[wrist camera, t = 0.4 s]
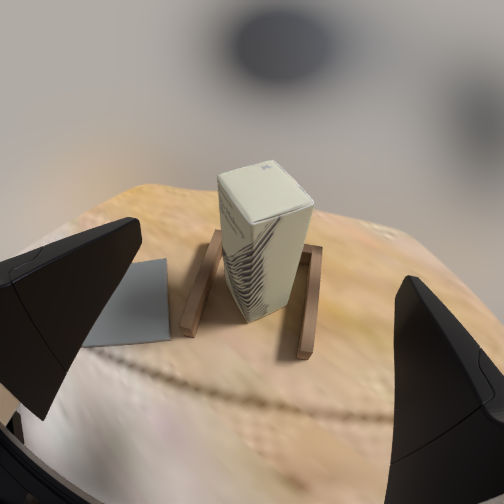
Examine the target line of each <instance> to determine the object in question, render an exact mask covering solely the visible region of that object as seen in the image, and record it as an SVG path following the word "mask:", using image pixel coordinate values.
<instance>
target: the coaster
mask: <svg viewBox="0 0 504 504" xmlns="http://www.w3.org/2000/svg"><path fill="white" fill-rule="evenodd" d="M170 340H171V337H170V323H169V304H168V277H167V259H166V258H164V259H158V260H151V261H145V262H138V263H132V264H130V266H129V268H128V270H127V272H126V274H125V276H124V277H123V279H122V281H121V282H120V284H119V285H118V287H117V288H116V290H115V292H114V293H113V295H112V296H111V298H110V299H109V301H108V303H107V304H106V306H105V307H104V309H103V311H102V312H101V314H100V315H99V317H98V319H97V320H96V322H95V324H94V325H93V327H92V329H91V330H90V332H89V334H88V336H87V337H86V339H85V341H84V343H83V344H82V346H83V347H103V346H117V345H130V344H141V343H151V342H161V341H170Z"/></svg>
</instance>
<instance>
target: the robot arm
mask: <svg viewBox="0 0 504 504" xmlns="http://www.w3.org/2000/svg"><path fill="white" fill-rule="evenodd" d="M141 244H142V235H141V228H140V222H139V220H138V219H137V218H132V217H126V218H123V219H120V220H117V221H114V222H110V223H107V224H104V225H101V226H98V227H95V228H92V229H89V230H86V231H83V232H81V233H78V234H75V235H72V236H69V237H66V238H64V239H61V240H58V241H55V242H53V243H50V244H47V245H45V246H44V247H43V246H42V247H40V248H37V249H34V250H32V251H29V252H26V253H24V254H21V255H18V256H16V257H13V258H10V259H7V260H5V261H2V262H0V504H104V503H102V502H100V501H98V500H97V499H95V498H93V497H92V496H90V495H89V494H87V493H86V492H84V491H82V490H81V489H79V488H78V487H76V486H75V485H73V484H72V483H71V482H69V481H68V480H66V479H65V478H64V477H62V476H61V475H59V474H58V473H57V472H56V471H54V470H53V469H52V468H50V467H49V466H48V465H47V464H45V463H44V462H43V461H42V460H40V459H39V458H38V457H37V456H36V455H35V454H33V453H32V452H31V451H30V450H29V449H28V448H27V447H26V446H25V445H24V437H23V431H22V424H21V416H20V414H19V413H18V412H17V411H16V409H17V408H18V406H19V405H20V403H22V404H23V405H24V406H25V407H26V408H27V409H29V410H30V411H31V412H32V413H33V414H34V415H36V416H37V417H38V418H39V419H41V420H42V421H44V419H45V418H46V416H47V413H48V411H49V409H50V407H51V405H52V403H53V400H54V398H55V396H56V394H57V392H58V390H59V388H60V386H61V384H62V382H63V380H64V378H65V376H66V374H67V373H66V372H68V370H69V368H70V366H71V364H72V363H73V361H74V359H75V357H76V355H77V353H78V352H79V350H80V348H81V346H82V344H83V343H84V341H85V339H86V337H87V336H88V334H89V332H90V330H91V329H92V327H93V325H94V324H95V322H96V320H97V319H98V317H99V315H100V314H101V312H102V311H103V309H104V307H105V306H106V304H107V303H108V301H109V299H110V298H111V296H112V295H113V293H114V292H115V290H116V288H117V287H118V285H119V284H120V282H121V281H122V279H123V277H124V276H125V274H126V272H127V270H128V268H129V266H130V264H131V263H132V261H133V259H134V257H135V255H136V253H137V252H138V250H139V248H140V246H141ZM394 368H395V402H394V427H393V441H392V452H391V462H390V464H391V465H390V469H389V476H388V483H387V490H386V496H385V501H384V504H504V375H503V374H502V373H501V372H500V371H499V369H498V368H497V367H496V366H495V365H494V363H493V362H492V361H491V360H490V358H489V357H488V356H487V355H486V353H485V352H484V351H483V349H482V348H480V346H479V345H478V343H477V342H476V341H475V340H474V338H473V337H472V336H471V335H470V334H469V332H468V331H467V330H466V329H465V328H464V327H463V325H462V324H461V323H460V322H459V321H458V320H457V318H456V317H455V316H454V315H453V314H452V313H451V312H450V311H449V310H448V308H447V307H446V306H445V305H444V304H443V303H442V302H441V301H440V300H439V299H438V298H437V296H436V295H435V294H434V293H433V292H432V291H431V290H430V289H429V288H428V287H427V286H426V285H425V284H424V283H423V282H422V281H421V280H420V279H419V278H418V277H414V276H410V275H408V276H406V277H405V278H404V280H403V282H402V284H401V286H400V288H399V290H398V292H397V294H396V297H395V317H394Z"/></svg>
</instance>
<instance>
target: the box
mask: <svg viewBox="0 0 504 504" xmlns="http://www.w3.org/2000/svg"><path fill="white" fill-rule="evenodd" d="M217 182H218V195H219V209H220V222H221V235H222V246H223V258H224V270H225V281H226V284H227V286H228V288H229V290H230V292H231V294H232V296H233V298H234V300H235V302H236V304H237V306H238V308H239V309H240V311H241V313H242V315H243V316H244V318H245V320H246V321H247V322H248V323H250V322H252V321H255V320H257V319H259V318H262V317H264V316H266V315H269V314H271V313H273V312H275V311H277V310H279V309H281V308H283V307H284V306H286V305H287V303H288V300H289V296H290V293H291V289H292V286H293V282H294V279H295V275H296V272H297V268H298V264H299V261H300V257H301V253H302V250H303V246H304V242H305V238H306V235H307V231H308V227H309V223H310V219H311V216H312V212H313V208H314V201H313V199H312V198H311V197H310V196H309V195H308V194H307V193H306V192H305V191H304V190H303V188H302V187H301V186H300V185H299V184H298V183H297V182H296V181H295V180H294V179H293V178H292V177H291V176H290V175H289V174H288V173H287V172H286V171H285V170H284V169H283V168H282V167H281V166H279V164H277V163H276V162H275V161H274V160H268V161H264V162H261V163H257V164H253V165H249V166H246V167H242V168H239V169H235V170H232V171H229V172H225V173H222V174H219V175H218V176H217Z"/></svg>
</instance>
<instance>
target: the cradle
mask: <svg viewBox="0 0 504 504" xmlns="http://www.w3.org/2000/svg"><path fill="white" fill-rule="evenodd" d="M222 253H223V246H222V235H221V230H216V229H215V231H214V234H213V237H212V239H211V242H210V244H209V247H208V249H207V252H206V254H205V257H204V259H203V262H202V265H201V267H200V270H199V272H198V275H197V278H196V280H195V283H194V286H193V288H192V291H191V294H190V297H189V299H188V302H187V305H186V307H185V310H184V313H183V316H182V319H181V321H180V324H179V327H180V329H181V331H182V333H183V335H186V336H190V337H193V338H194V337H195V334H196V331H197V328H198V325H199V322H200V319H201V315H202V312H203V309H204V306H205V303H206V300H207V297H208V294H209V291H210V288H211V285H212V282H213V279H214V277H215V274H216V271H217V268H218V265H219V262H220V259H221V256H222ZM321 263H322V247H320V246H314V245H308V244H304V246H303V250H302V253H301V257H300V261H299V264H305V265H309V267H308V276H307V285H306V293H305V302H304V310H303V317H302V325H301V332H300V339H299V346H298V352H297V358H299V359H306V360H308V359H309V358H310V356H311V355H312V353H313V347H314V338H315V330H316V321H317V311H318V300H319V289H320V277H321Z"/></svg>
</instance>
